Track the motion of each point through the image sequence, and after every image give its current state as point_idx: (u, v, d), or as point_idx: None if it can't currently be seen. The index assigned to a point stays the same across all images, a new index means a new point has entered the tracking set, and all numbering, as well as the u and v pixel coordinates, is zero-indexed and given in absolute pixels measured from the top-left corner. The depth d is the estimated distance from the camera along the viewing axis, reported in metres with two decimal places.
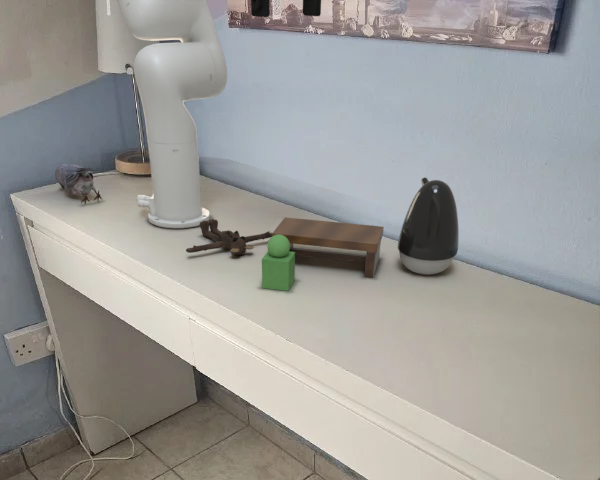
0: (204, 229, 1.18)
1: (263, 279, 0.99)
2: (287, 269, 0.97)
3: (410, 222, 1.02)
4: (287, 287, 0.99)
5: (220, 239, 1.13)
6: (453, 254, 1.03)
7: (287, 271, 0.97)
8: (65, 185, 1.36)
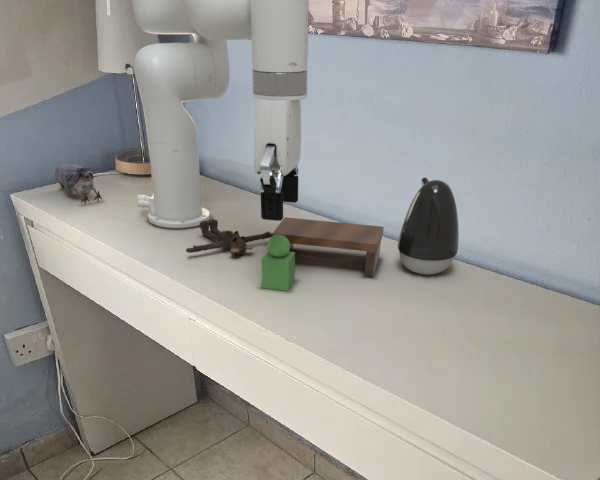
0: (204, 229, 1.18)
1: (263, 279, 0.99)
2: (287, 269, 0.97)
3: (410, 222, 1.02)
4: (287, 287, 0.99)
5: (220, 239, 1.13)
6: (453, 254, 1.03)
7: (287, 271, 0.97)
8: (65, 185, 1.36)
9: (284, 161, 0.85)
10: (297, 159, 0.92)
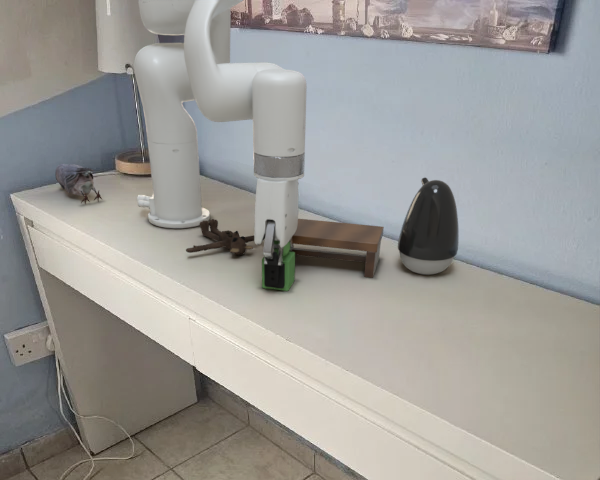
0: (204, 229, 1.18)
1: (263, 279, 0.99)
2: (287, 269, 0.97)
3: (410, 222, 1.02)
4: (287, 287, 0.99)
5: (220, 239, 1.13)
6: (453, 254, 1.03)
7: (287, 271, 0.97)
8: (65, 185, 1.36)
9: (282, 235, 0.91)
10: (295, 228, 0.98)
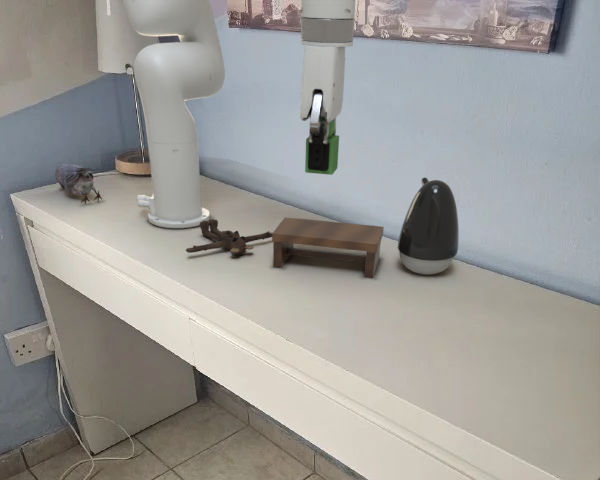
0: (204, 229, 1.18)
1: (306, 162, 0.96)
2: (332, 150, 0.94)
3: (410, 222, 1.02)
4: (331, 170, 0.96)
5: (220, 239, 1.13)
6: (453, 254, 1.03)
7: (332, 152, 0.95)
8: (65, 185, 1.36)
9: (330, 107, 0.89)
10: (340, 108, 0.95)
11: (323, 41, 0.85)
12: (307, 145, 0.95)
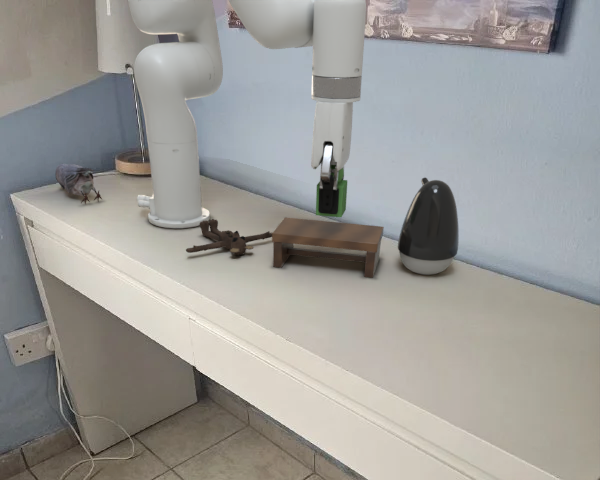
0: (204, 229, 1.18)
1: (317, 206, 1.02)
2: (341, 195, 1.00)
3: (410, 222, 1.02)
4: (341, 213, 1.02)
5: (220, 239, 1.13)
6: (453, 254, 1.03)
7: (341, 197, 1.00)
8: (65, 185, 1.36)
9: (339, 157, 0.95)
10: (348, 155, 1.01)
11: (333, 97, 0.91)
12: (318, 190, 1.01)
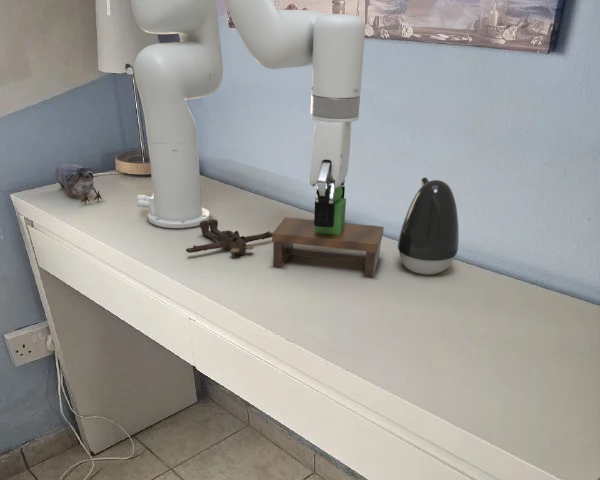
0: (204, 229, 1.18)
1: None
2: (340, 213, 1.02)
3: (410, 222, 1.02)
4: (339, 231, 1.04)
5: (220, 239, 1.13)
6: (453, 254, 1.03)
7: (340, 215, 1.02)
8: (65, 185, 1.36)
9: (338, 175, 0.96)
10: (346, 172, 1.02)
11: (332, 117, 0.93)
12: None
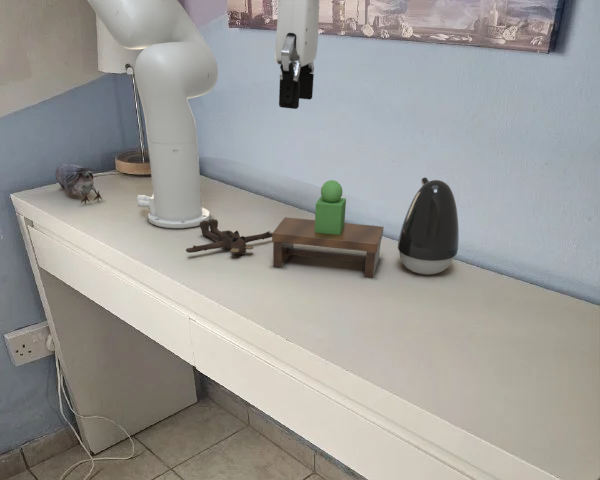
0: (204, 229, 1.18)
1: (316, 224, 1.04)
2: (340, 213, 1.02)
3: (410, 222, 1.02)
4: (339, 231, 1.04)
5: (220, 239, 1.13)
6: (453, 254, 1.03)
7: (340, 215, 1.02)
8: (65, 185, 1.36)
9: (302, 51, 0.95)
10: (313, 55, 1.01)
11: None
12: (317, 209, 1.02)
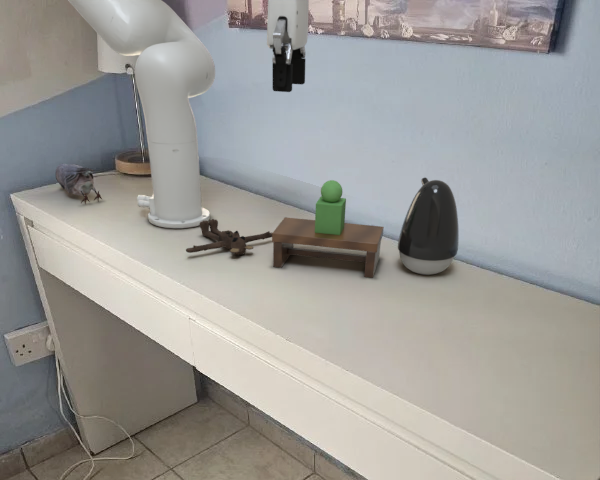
0: (204, 229, 1.18)
1: (316, 224, 1.04)
2: (340, 213, 1.02)
3: (410, 222, 1.02)
4: (339, 231, 1.04)
5: (220, 239, 1.13)
6: (453, 254, 1.03)
7: (340, 215, 1.02)
8: (65, 185, 1.36)
9: (294, 34, 0.97)
10: (305, 39, 1.03)
11: None
12: (317, 209, 1.02)
